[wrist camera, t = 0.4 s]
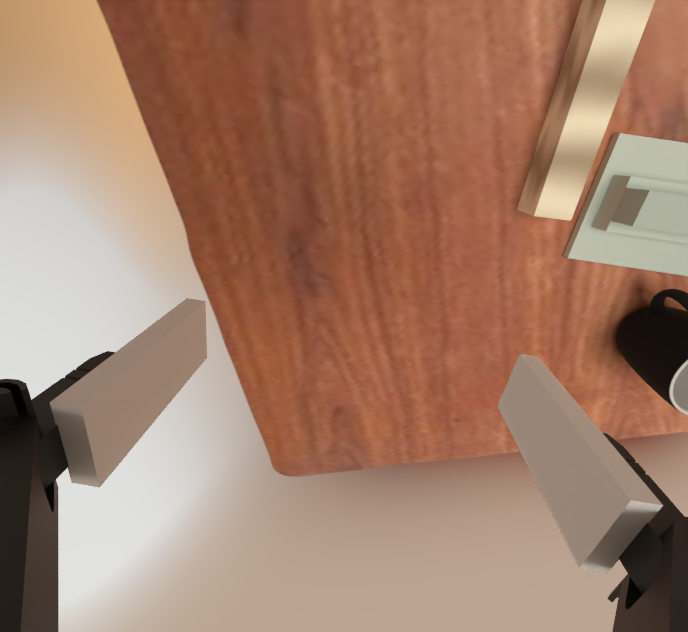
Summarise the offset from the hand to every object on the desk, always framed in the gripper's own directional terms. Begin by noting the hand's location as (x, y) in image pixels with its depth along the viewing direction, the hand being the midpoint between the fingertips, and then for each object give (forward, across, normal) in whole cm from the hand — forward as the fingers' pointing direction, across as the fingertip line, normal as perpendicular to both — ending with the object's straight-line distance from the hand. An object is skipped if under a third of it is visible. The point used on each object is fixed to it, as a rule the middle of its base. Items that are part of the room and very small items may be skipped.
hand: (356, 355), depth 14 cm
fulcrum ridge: (+26, +29, +7) cm, 40 cm away
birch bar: (+27, +17, +16) cm, 35 cm away
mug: (+27, +34, -5) cm, 43 cm away
